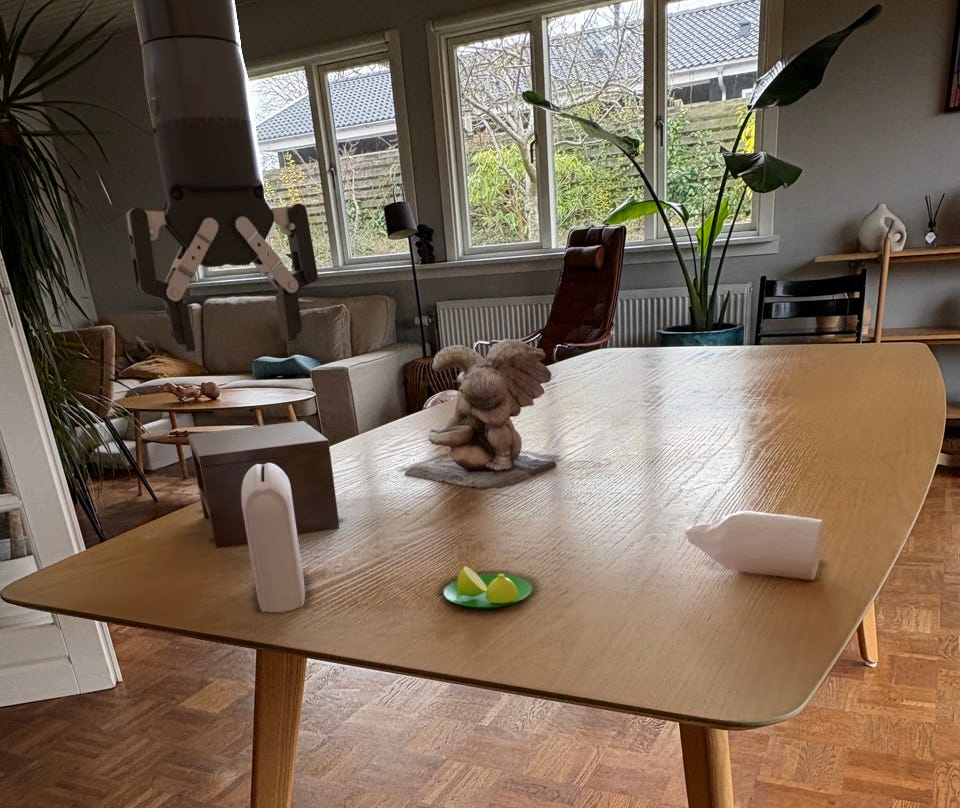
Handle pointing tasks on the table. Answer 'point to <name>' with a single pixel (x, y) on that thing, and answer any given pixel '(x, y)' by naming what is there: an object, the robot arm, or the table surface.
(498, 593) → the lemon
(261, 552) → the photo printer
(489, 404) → the cherub figurine
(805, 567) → the white plastic bottle
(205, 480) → the box
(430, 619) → the table surface
